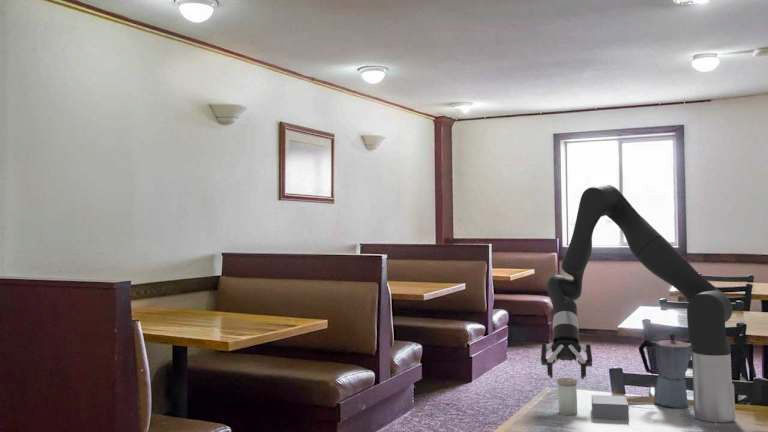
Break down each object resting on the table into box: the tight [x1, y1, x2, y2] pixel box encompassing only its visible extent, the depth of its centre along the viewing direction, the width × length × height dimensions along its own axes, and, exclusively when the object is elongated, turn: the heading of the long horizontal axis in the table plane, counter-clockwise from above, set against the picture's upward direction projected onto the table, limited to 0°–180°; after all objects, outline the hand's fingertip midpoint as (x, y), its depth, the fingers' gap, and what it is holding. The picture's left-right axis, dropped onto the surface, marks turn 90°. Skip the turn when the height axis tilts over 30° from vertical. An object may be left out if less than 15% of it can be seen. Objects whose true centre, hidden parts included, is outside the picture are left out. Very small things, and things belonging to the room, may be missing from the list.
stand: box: [590, 394, 630, 421], centre depth 180 cm, size 9×9×4 cm
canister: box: [556, 377, 578, 416], centre depth 183 cm, size 5×5×9 cm
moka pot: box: [638, 333, 692, 409], centre depth 189 cm, size 10×15×20 cm, turn 78°
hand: (566, 376), depth 187 cm, fingers open, 8 cm apart
